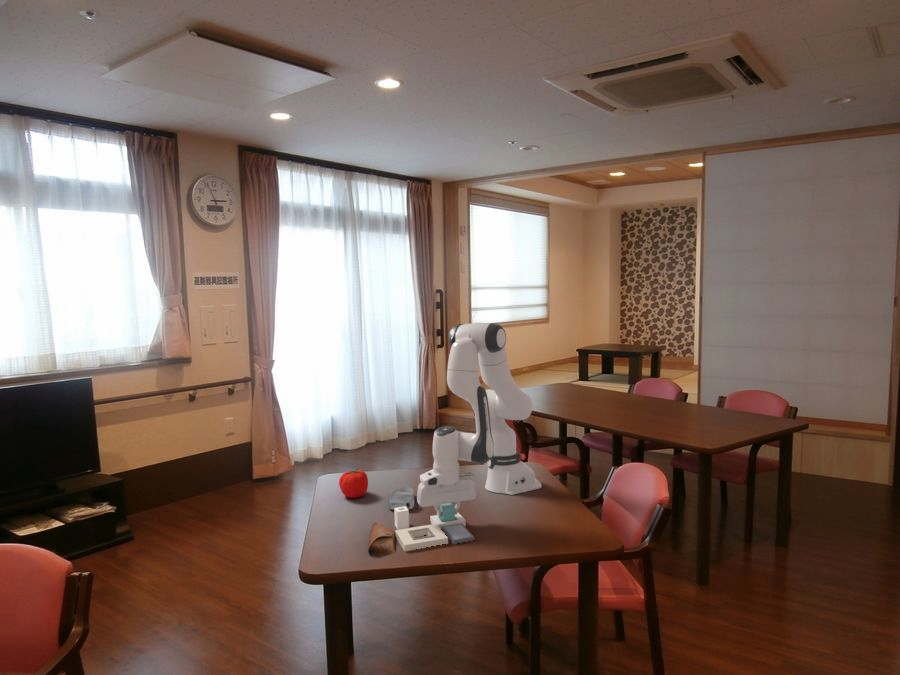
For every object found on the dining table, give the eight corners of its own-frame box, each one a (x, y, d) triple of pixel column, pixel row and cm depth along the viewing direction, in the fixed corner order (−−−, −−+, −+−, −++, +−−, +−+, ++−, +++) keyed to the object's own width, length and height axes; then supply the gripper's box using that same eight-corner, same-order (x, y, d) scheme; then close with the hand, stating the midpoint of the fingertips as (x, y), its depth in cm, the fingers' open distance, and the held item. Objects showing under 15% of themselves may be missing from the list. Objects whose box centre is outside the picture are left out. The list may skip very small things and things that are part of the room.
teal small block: (451, 517, 202) (450, 502, 201) (455, 521, 198) (454, 506, 198) (440, 518, 200) (439, 504, 200) (443, 522, 197) (443, 508, 196)
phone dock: (457, 517, 205) (457, 511, 205) (479, 540, 186) (478, 534, 186) (430, 521, 202) (430, 516, 201) (449, 545, 183) (448, 539, 183)
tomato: (371, 490, 235) (370, 464, 235) (365, 501, 223) (364, 474, 222) (343, 490, 236) (342, 465, 235) (336, 502, 223) (335, 475, 222)
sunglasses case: (396, 553, 178) (384, 535, 177) (377, 566, 178) (364, 548, 177) (397, 529, 196) (386, 513, 195) (379, 541, 196) (368, 525, 195)
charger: (406, 523, 201) (405, 506, 200) (409, 527, 197) (408, 510, 197) (394, 525, 200) (394, 507, 199) (397, 529, 196) (397, 511, 195)
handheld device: (418, 492, 231) (417, 481, 231) (413, 512, 212) (413, 500, 211) (393, 493, 232) (393, 481, 231) (387, 512, 212) (386, 500, 211)
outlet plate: (436, 529, 195) (436, 523, 195) (448, 544, 184) (447, 537, 184) (395, 536, 191) (395, 529, 190) (404, 551, 179) (404, 544, 179)
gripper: (471, 469, 204) (472, 507, 205) (415, 476, 198) (416, 516, 199) (478, 474, 198) (479, 514, 200) (420, 481, 192) (421, 523, 193)
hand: (447, 515), depth 199 cm, fingers closed on teal small block, 4 cm apart
